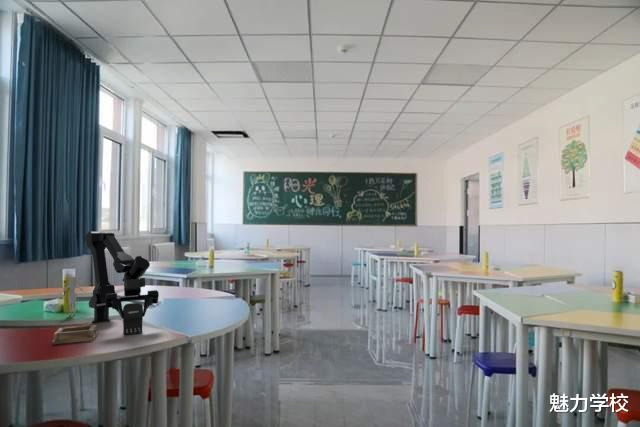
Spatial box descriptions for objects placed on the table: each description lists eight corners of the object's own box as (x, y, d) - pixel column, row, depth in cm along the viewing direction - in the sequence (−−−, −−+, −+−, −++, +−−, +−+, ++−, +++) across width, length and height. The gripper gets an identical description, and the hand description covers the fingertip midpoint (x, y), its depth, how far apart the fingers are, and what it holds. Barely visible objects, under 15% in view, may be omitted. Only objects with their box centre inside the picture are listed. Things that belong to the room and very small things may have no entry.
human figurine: (86, 312, 192) (87, 275, 192) (87, 314, 188) (88, 275, 189) (56, 316, 185) (57, 277, 185) (57, 317, 181) (57, 278, 182)
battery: (123, 336, 149) (123, 305, 150) (122, 333, 153) (122, 303, 153) (143, 333, 153) (143, 303, 153) (142, 331, 156) (142, 301, 157)
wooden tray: (58, 337, 149) (58, 327, 149) (98, 333, 154) (98, 324, 154) (51, 344, 139) (51, 334, 139) (94, 340, 144) (94, 330, 144)
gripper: (105, 272, 153) (105, 306, 142) (158, 269, 161) (161, 301, 151) (105, 290, 159) (105, 324, 149) (156, 287, 168) (159, 318, 158)
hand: (133, 317), depth 152 cm, fingers closed on battery, 7 cm apart
